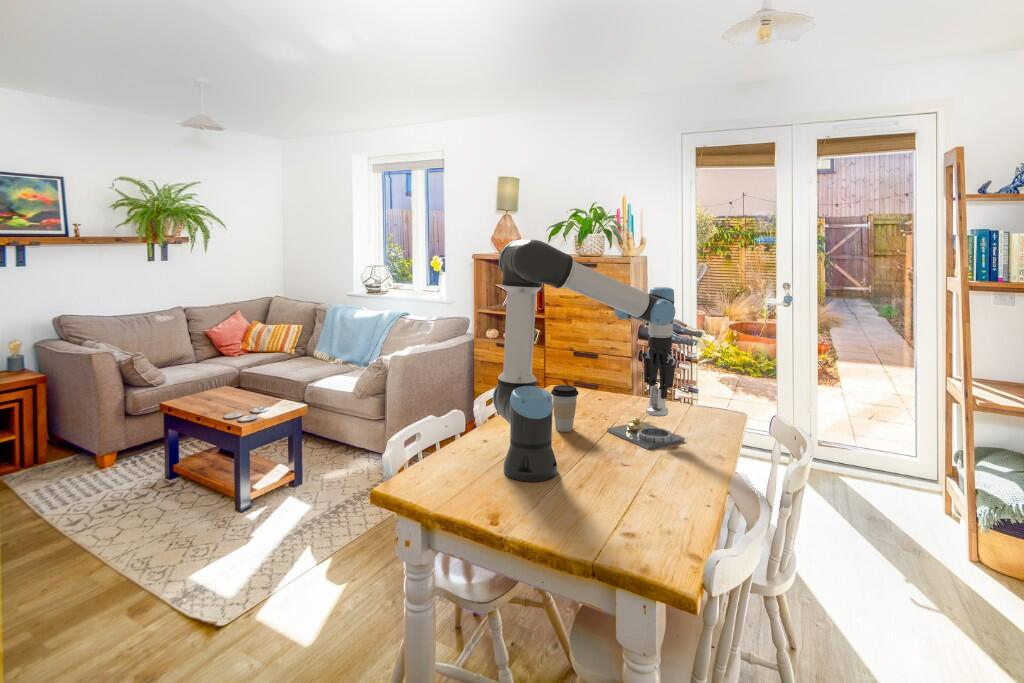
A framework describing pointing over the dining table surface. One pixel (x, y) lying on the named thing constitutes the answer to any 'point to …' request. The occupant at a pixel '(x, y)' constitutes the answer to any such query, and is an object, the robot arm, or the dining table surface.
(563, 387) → the coffee cup
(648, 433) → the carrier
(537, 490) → the dining table surface
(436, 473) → the dining table surface
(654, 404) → the silver round-based piece
